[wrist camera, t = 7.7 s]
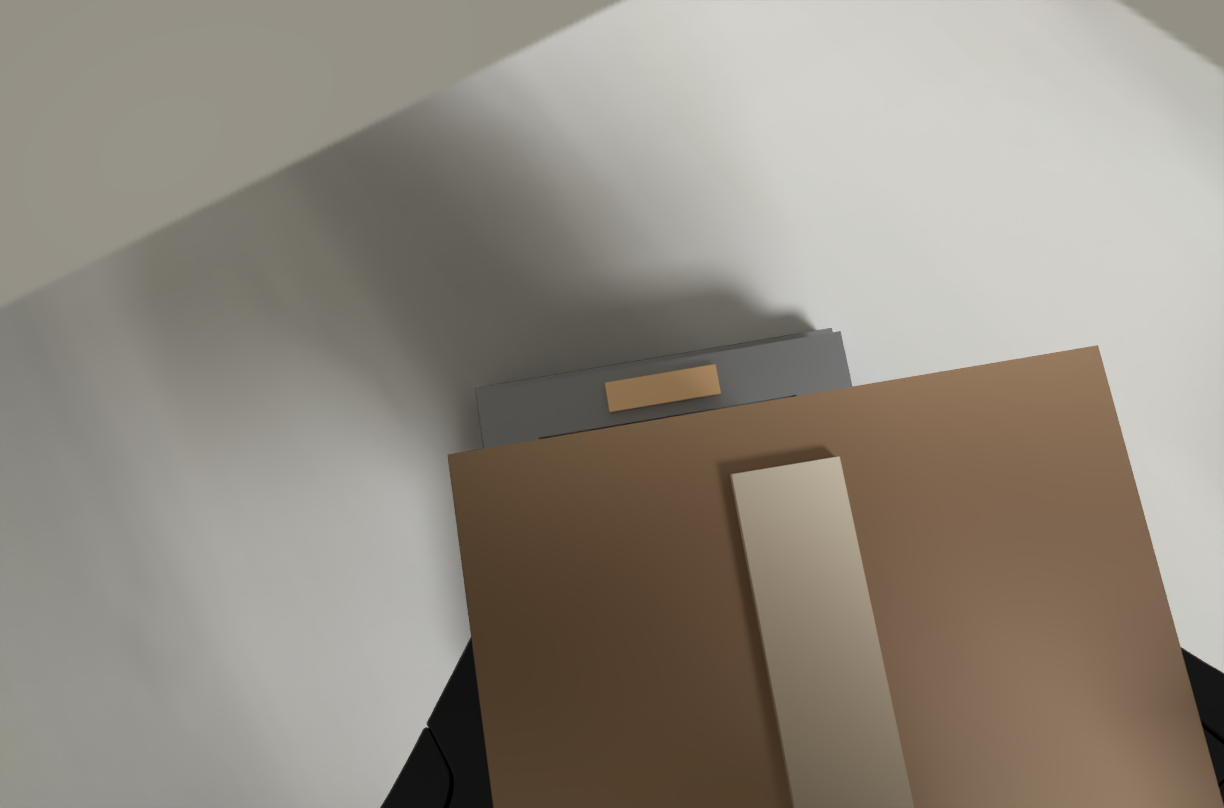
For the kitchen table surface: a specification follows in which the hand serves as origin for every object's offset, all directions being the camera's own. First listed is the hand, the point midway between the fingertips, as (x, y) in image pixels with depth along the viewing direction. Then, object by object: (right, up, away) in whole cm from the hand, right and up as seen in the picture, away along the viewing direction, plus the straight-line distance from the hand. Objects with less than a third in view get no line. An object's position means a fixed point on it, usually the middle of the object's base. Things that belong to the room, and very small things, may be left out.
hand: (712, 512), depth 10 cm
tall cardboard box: (0, -2, +6) cm, 7 cm away
